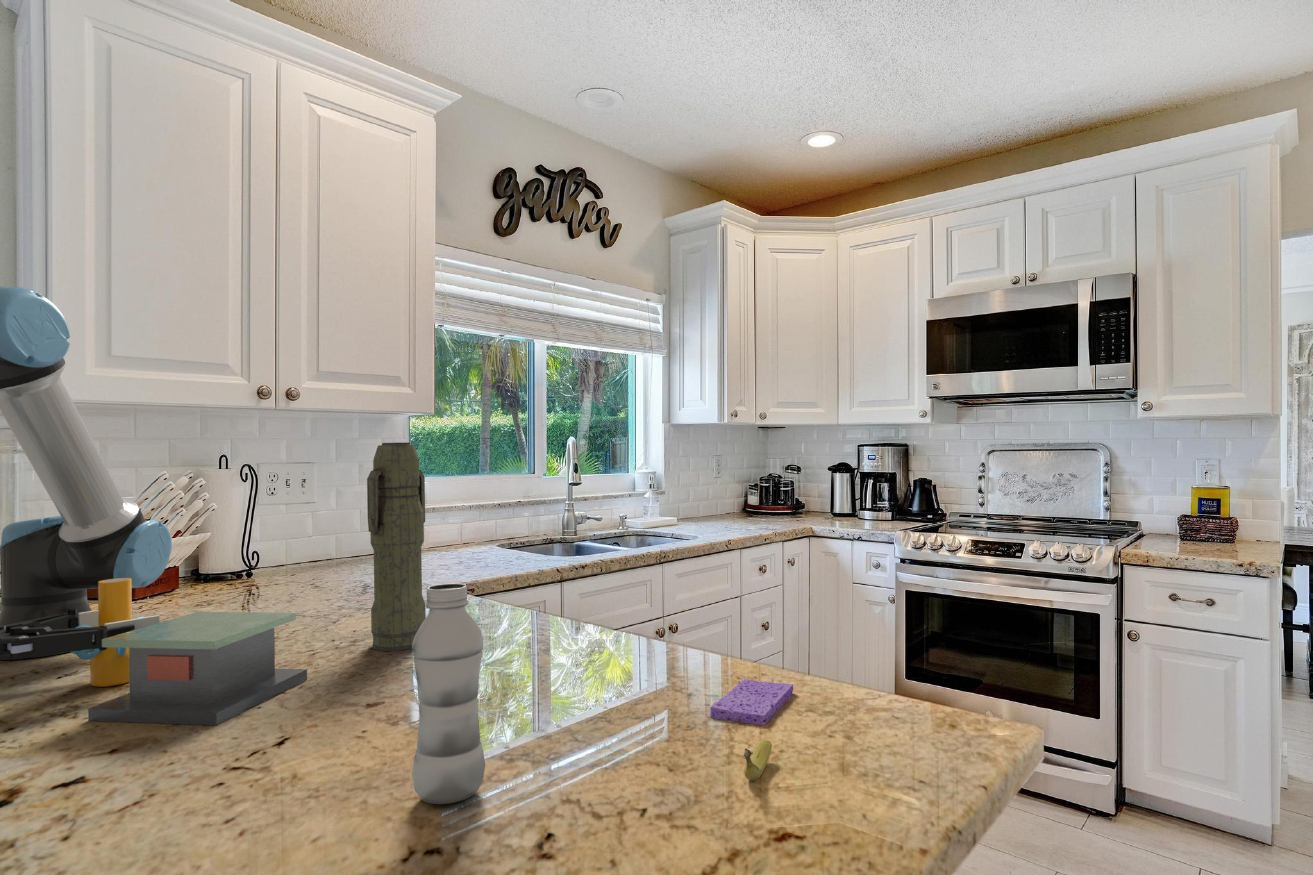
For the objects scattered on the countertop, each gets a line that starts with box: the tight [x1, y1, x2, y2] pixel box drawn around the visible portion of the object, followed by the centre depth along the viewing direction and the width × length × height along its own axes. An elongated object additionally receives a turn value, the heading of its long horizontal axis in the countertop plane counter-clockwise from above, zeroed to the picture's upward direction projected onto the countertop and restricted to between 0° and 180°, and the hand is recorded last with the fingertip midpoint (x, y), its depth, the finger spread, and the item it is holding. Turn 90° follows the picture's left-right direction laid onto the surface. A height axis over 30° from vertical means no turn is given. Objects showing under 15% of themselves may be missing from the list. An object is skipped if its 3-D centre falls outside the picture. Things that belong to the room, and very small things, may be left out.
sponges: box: [709, 678, 794, 726], centre depth 93 cm, size 7×13×2 cm, turn 154°
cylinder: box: [70, 578, 144, 688], centre depth 109 cm, size 12×10×15 cm
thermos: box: [366, 442, 427, 652], centre depth 127 cm, size 9×12×35 cm
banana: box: [743, 739, 773, 782], centre depth 73 cm, size 8×2×4 cm, turn 160°
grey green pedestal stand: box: [87, 611, 308, 726], centre depth 100 cm, size 18×18×10 cm
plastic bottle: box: [411, 582, 486, 805], centre depth 70 cm, size 6×7×20 cm
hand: (143, 619), depth 112 cm, fingers closed on cylinder, 12 cm apart
